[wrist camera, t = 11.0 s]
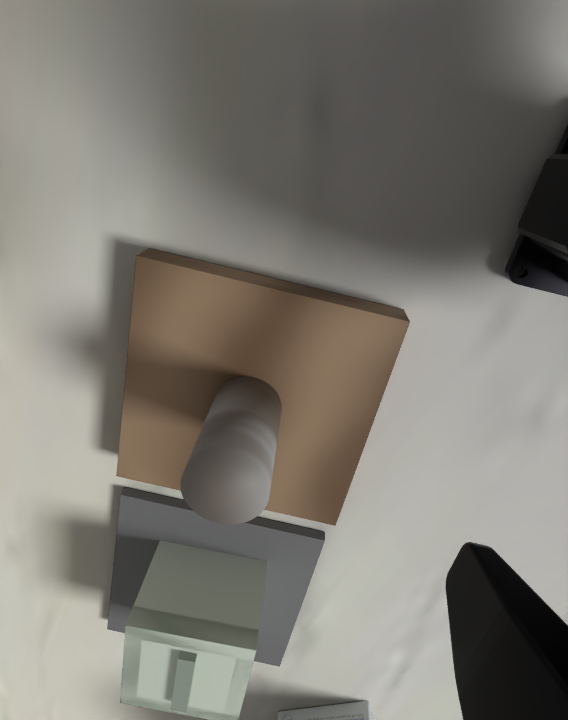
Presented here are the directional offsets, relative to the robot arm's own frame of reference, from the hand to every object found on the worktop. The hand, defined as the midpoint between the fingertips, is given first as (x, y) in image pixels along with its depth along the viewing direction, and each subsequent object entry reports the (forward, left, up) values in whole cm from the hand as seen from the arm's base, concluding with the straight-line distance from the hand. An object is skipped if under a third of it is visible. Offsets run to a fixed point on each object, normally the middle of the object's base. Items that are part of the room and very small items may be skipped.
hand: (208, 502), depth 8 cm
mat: (0, +18, -13) cm, 22 cm away
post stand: (0, +5, -13) cm, 14 cm away
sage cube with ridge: (0, +18, -12) cm, 22 cm away
